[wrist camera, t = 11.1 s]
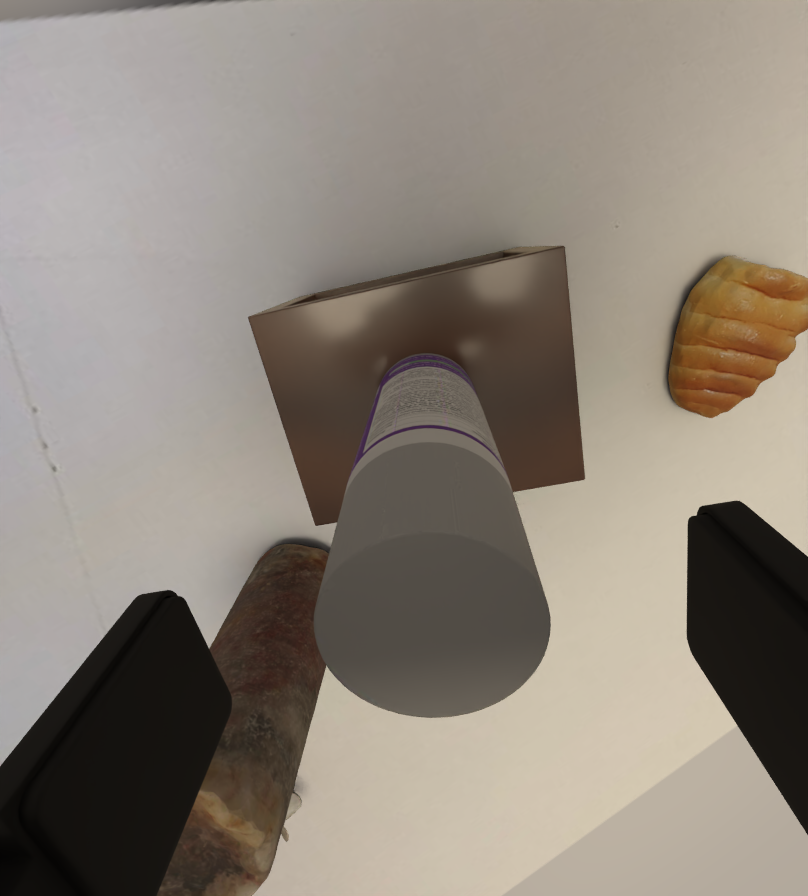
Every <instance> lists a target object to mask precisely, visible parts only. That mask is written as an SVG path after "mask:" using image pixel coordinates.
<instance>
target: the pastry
mask: <svg viewBox="0 0 808 896" xmlns="http://www.w3.org/2000/svg"><path fill="white" fill-rule="evenodd" d="M807 329H808V278H806V277H804V276H802V275H799V274H795V273H793V272H791V271H788V270H784V269H774V268H769V267H767V266H766V265H759V264H754V263H751V262H749V261H748V260H747V259H745V258H741V257H737V256H727V257H724V258H722V259H721V260H719V261H718V262H717V263H716V264H715V265H714V266H713V267H711V268H710V270H709V271H708V272H707V273H706V274H705V275H704V276H703V278H702V279H701V280H700V281H699V282H698V283H697V284H696V285H695V286H694V288H693V289H692V290H691V292H690V294H689V296H688V299H687V301H686V303H685V305H684V306H683V308H682V311H681V316H680V321H679V323H678V326H677V332H676V335H675V339H674V346H673V352H672V353H671V354H672V356H671V361H670V368H669V375H668V381H669V386H670V392H671V395H672V398H673V399H674V401H675V403H676V404H677V405H678V406H679V407H681V408H684V409H686V410H688V411H690V412H694V413H697V414H700V415H702V416H704V417H708V418H713V417H715V416H718V415H719V414H720V413H723V412H727V411H729V410H731V409H732V408H733V407H734V406H735V405H737V404H738V403H739V402H740V401H742V400H743V399H745V398H748V397H750V396H752V395H753V394H754V393H755V391H756V389H757V387H758V385H759V384H760V383H761V382H763V381H765V380H767V379H768V378H770V377H772V376H773V375H774V374H775V372H776V368H777V366H778V364H779V363H780V362H782V361H784V360H786V359H787V358H788V357H789V355H790V354H791V353H792V352H793V351H794V349H795V347H796V341H795V337H796V336H797V335H798V334H800V333H802V332H804V331H805V330H807Z"/></svg>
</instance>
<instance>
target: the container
mask: <svg viewBox="0 0 808 896" xmlns="http://www.w3.org/2000/svg"><path fill="white" fill-rule="evenodd" d="M550 627H551V624H550V613H549V607H548V604H547V600H546V597H545V594H544V591H543V588H542V584H541V581H540V578H539V575H538V572H537V568H536V565H535V562H534V559H533V556H532V552H531V549H530V546H529V543H528V540H527V536H526V533H525V530H524V527H523V524H522V520H521V517H520V514H519V511H518V507H517V504H516V501H515V498H514V495H513V491H512V488H511V485H510V482H509V478H508V476H507V473H506V470H505V468H504V465H503V462H502V460H501V457H500V455H499V452H498V449H497V447H496V444H495V441H494V439H493V436H492V433H491V431H490V428H489V426H488V423H487V420H486V418H485V415H484V412H483V410H482V407H481V404H480V402H479V399H478V396H477V394H476V391H475V389H474V386H473V384H472V382H471V380H470V378H469V376H468V375H467V373H466V372H465V371H464V369H463V368H462V367H461V366H459V365H458V364H457V363H456V362H454V361H453V360H451V359H449V358H447V357H444V356H442V355H438V354H432V353H421V354H415V355H411V356H409V357H406V358H404V359H402V360H400V361H399V362H397V363H396V364H394V365H393V366H392V367H391V368H390V369H389V370H388V371H387V373H386V374H385V375H384V377H383V379H382V381H381V383H380V385H379V388H378V390H377V393H376V397H375V400H374V403H373V406H372V409H371V412H370V415H369V418H368V421H367V424H366V427H365V430H364V433H363V436H362V440H361V443H360V446H359V449H358V452H357V455H356V458H355V461H354V464H353V467H352V470H351V473H350V476H349V479H348V483H347V487H346V491H345V495H344V499H343V503H342V507H341V511H340V514H339V518H338V522H337V526H336V530H335V533H334V537H333V541H332V545H331V549H330V553H329V556H328V560H327V564H326V568H325V572H324V576H323V579H322V583H321V587H320V591H319V595H318V599H317V602H316V606H315V612H314V633H315V639H316V642H317V646H318V649H319V651H320V654H321V656H322V658H323V660H324V662H325V664H326V665H327V667H328V668H329V670H330V671H331V672H332V674H333V675H334V676H335V677H336V678H337V679H338V680H339V681H340V682H341V683H342V684H343V685H344V686H345V687H346V688H347V689H348V690H350V691H351V692H353V693H354V694H355V695H357V696H358V697H360V698H361V699H363V700H365V701H367V702H369V703H371V704H373V705H375V706H377V707H380V708H382V709H385V710H388V711H391V712H395V713H398V714H403V715H409V716H416V717H427V718H436V717H452V716H458V715H463V714H468V713H472V712H475V711H479V710H482V709H484V708H487V707H489V706H491V705H494V704H496V703H498V702H500V701H501V700H503V699H505V698H506V697H508V696H509V695H511V694H512V693H514V692H515V691H516V690H517V689H519V688H520V687H521V686H522V685H523V684H524V683H525V682H526V681H527V680H528V679H529V678H530V677H531V675H532V674H533V673H534V672H535V671H536V669H537V667H538V666H539V664H540V662H541V661H542V658H543V656H544V654H545V651H546V649H547V645H548V642H549V636H550Z"/></svg>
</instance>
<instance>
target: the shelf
mask: <svg viewBox="0 0 808 896" xmlns="http://www.w3.org/2000/svg"><path fill="white" fill-rule="evenodd" d="M248 319H249V322H250V325H251V328H252V331H253V334H254V337H255V340H256V344H257V347H258V350H259V353H260V356H261V359H262V362H263V365H264V368H265V371H266V374H267V378H268V381H269V384H270V387H271V390H272V393H273V396H274V399H275V402H276V405H277V408H278V411H279V415H280V418H281V421H282V424H283V427H284V430H285V433H286V436H287V439H288V442H289V445H290V449H291V452H292V455H293V458H294V461H295V464H296V467H297V470H298V473H299V476H300V479H301V482H302V486H303V489H304V492H305V495H306V498H307V501H308V504H309V507H310V510H311V513H312V516H313V520H314V523H315V525H316V526H318V525H324V524H330V523H336V522H338V518H339V514H340V511H341V507H342V503H343V499H344V495H345V491H346V487H347V483H348V479H349V476H350V473H351V470H352V467H353V464H354V461H355V458H356V455H357V452H358V449H359V446H360V443H361V440H362V436H363V433H364V430H365V427H366V424H367V421H368V418H369V415H370V412H371V409H372V406H373V403H374V400H375V397H376V393H377V390H378V388H379V385H380V383H381V381H382V379H383V377H384V375H385V374H386V373H387V371H388V370H389V369H390V368H391V367H392V366H393V365H394V364H396V363H397V362H399V361H400V360H402V359H404V358H406V357H409V356H411V355H415V354H421V353H432V354H438V355H442V356H444V357H447V358H449V359H451V360H453V361H454V362H456V363H457V364H458V365H459V366H461V367H462V368H463V369H464V371H465V372H466V373H467V375H468V376H469V378H470V380H471V382H472V384H473V386H474V389H475V391H476V394H477V396H478V399H479V402H480V404H481V407H482V410H483V412H484V415H485V418H486V420H487V423H488V426H489V428H490V431H491V433H492V436H493V439H494V441H495V444H496V447H497V449H498V452H499V455H500V457H501V460H502V462H503V465H504V468H505V470H506V473H507V476H508V478H509V482H510V485H511V488H512V491H513V492H516V491H522V490H527V489H533V488H539V487H545V486H551V485H556V484H562V483H568V482H574V481H580V480H584V479H585V473H584V462H583V450H582V439H581V427H580V416H579V404H578V393H577V381H576V370H575V358H574V347H573V335H572V324H571V312H570V301H569V289H568V278H567V266H566V255H565V247H564V246H535V247H516V248H512V249H508V250H503V251H499V252H494V253H490V254H486V255H481V256H477V257H472V258H468V259H464V260H459V261H455V262H450V263H446V264H442V265H437V266H433V267H428V268H424V269H420V270H415V271H411V272H406V273H402V274H398V275H393V276H389V277H384V278H380V279H376V280H371V281H367V282H362V283H358V284H354V285H349V286H345V287H340V288H336V289H332V290H327V291H323V292H318V293H314V294H310V295H305V296H301V297H298V298H295V299H293V300H290V301H288V302H285V303H282V304H280V305H277V306H275V307H272V308H270V309H267V310H264V311H262V312H259V313H257V314H254V315H252V316H249V317H248Z"/></svg>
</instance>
